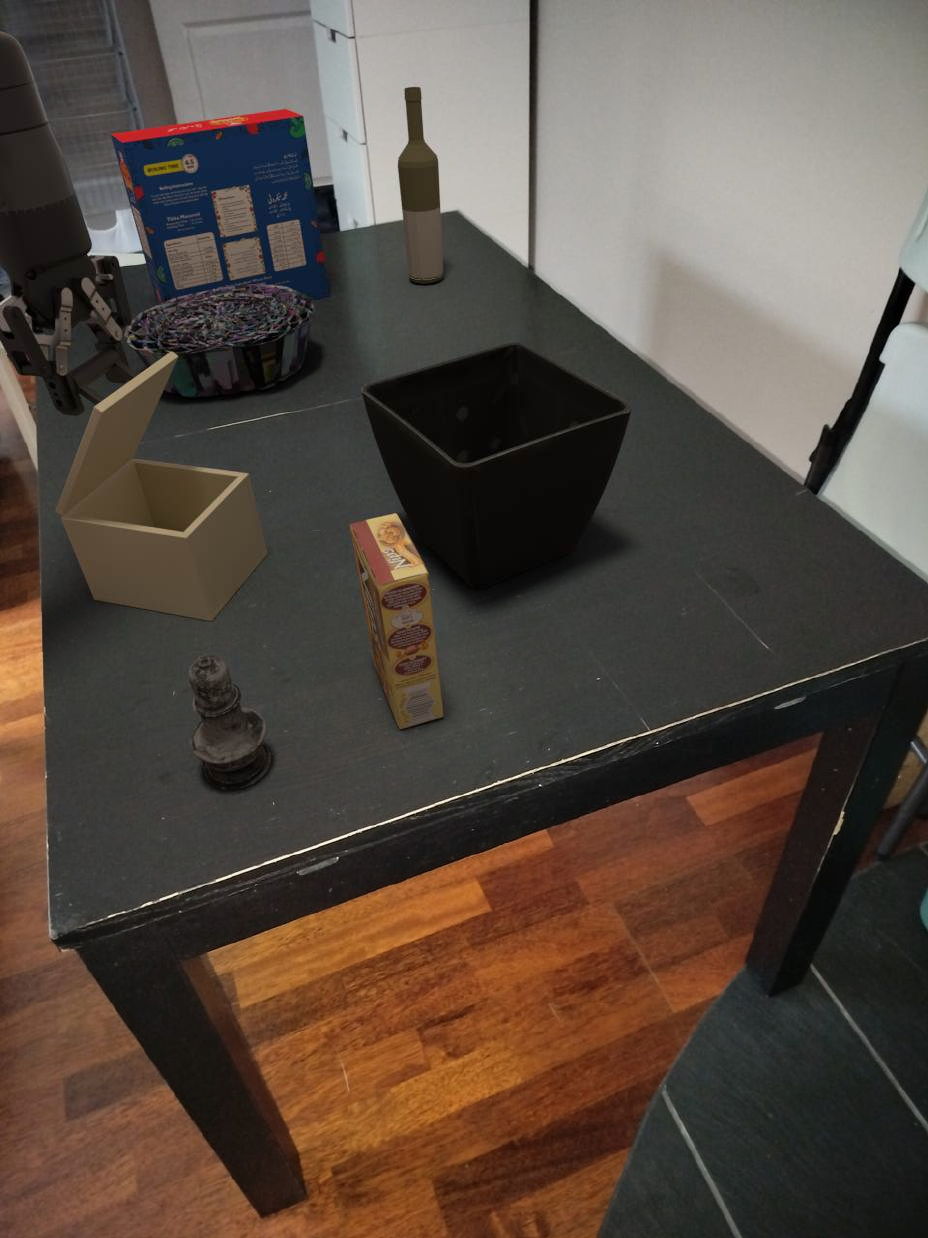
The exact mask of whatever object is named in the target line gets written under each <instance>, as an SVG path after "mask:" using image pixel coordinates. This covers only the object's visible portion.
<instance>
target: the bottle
mask: <svg viewBox="0 0 928 1238" xmlns="http://www.w3.org/2000/svg"><path fill="white" fill-rule="evenodd" d="M421 89H422V88H421V87H420V86H409V87H405V88H404V89H403V90H404V91H403V92H404V93H403V94H404V101H405V110H406V123H407V124H406V126H407V136H408V138H407V139H408V140H407V144H406V145H405V147H404V149H403V150H402V151H401V153H400V154H399V156H398V159H397V173H398V183H399V192H400V193H399V194H400V203H401V211H402V221H403V233H404V242H405V249H406V250H405V251H406V261H407V269H408V270H407V271H408V277H409V276H410V277H412V278H415V279H421V280H415V279H412V278H410V277H409V281H411V282H413V283H416V284H421V285H429V284H433V283H434V284H435V283H437V282H439V281H441V280H442V279H443V278H444V259H443V258H444V257H443V256H444V255H443V236H442V215H441V214H442V213H441V194H440V193H441V191H440V190H441V189H440V170H439V166H440V165H439V158H438V155H437V154H436V153H435V152H434V150H433V149H432V148H431V147H430V146H429V144H428V143H426V140H425V137H424V122H423V105H422V99H423V97H422V96H423V95H422V90H421ZM442 274H443V275H442ZM441 275H442V276H441ZM439 276H441V277H439ZM437 277H439V278H437ZM432 278H436V279H432ZM422 279H432V280H422Z"/></svg>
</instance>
